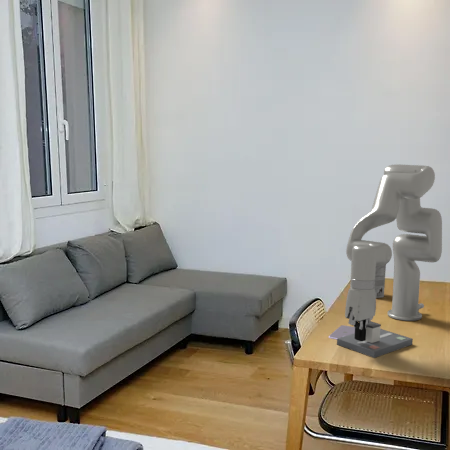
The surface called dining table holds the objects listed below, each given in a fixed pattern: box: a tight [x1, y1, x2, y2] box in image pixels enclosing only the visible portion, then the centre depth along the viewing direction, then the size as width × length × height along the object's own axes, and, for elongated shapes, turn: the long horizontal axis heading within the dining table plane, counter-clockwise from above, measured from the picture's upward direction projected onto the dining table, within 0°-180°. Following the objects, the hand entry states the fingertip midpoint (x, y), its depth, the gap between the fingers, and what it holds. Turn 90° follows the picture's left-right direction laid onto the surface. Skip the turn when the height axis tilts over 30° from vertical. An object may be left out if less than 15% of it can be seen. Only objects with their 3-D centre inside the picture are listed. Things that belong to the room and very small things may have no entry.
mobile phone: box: [328, 324, 355, 340], centre depth 206 cm, size 8×1×15 cm
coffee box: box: [375, 264, 387, 299], centre depth 256 cm, size 9×6×16 cm
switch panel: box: [336, 328, 414, 359], centre depth 195 cm, size 20×15×2 cm
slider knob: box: [365, 320, 382, 343], centre depth 192 cm, size 4×5×6 cm
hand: (360, 339), depth 190 cm, fingers closed
